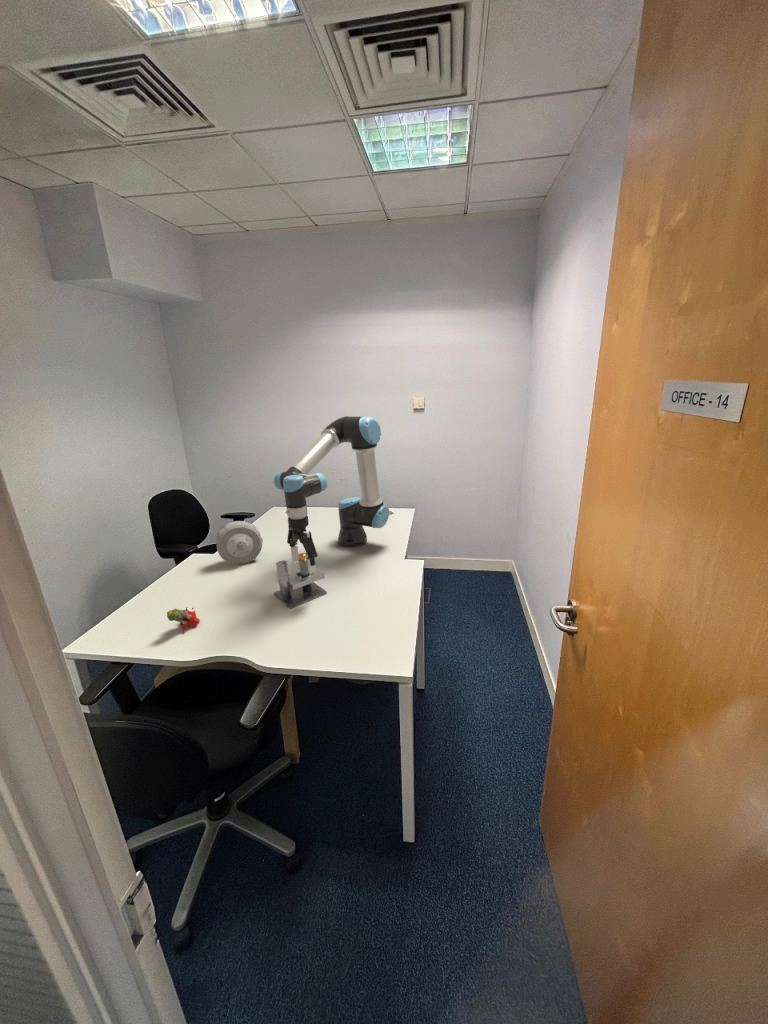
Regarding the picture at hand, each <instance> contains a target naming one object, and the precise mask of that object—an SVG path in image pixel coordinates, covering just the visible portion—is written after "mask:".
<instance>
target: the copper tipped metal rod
mask: <svg viewBox="0 0 768 1024" xmlns="http://www.w3.org/2000/svg"><path fill="white" fill-rule="evenodd" d="M298 554H299V555H298V558H299V561H298V563H299V569H300V573H301V577H300V578H305V577H308V576H310V575H309V569H308V561H307V557H308V555H307V553H306V552H300V553H298ZM302 588H303V591H305V592H307V591H310V590H311V583H310V584H307V585H305V586H302Z"/></svg>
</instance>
